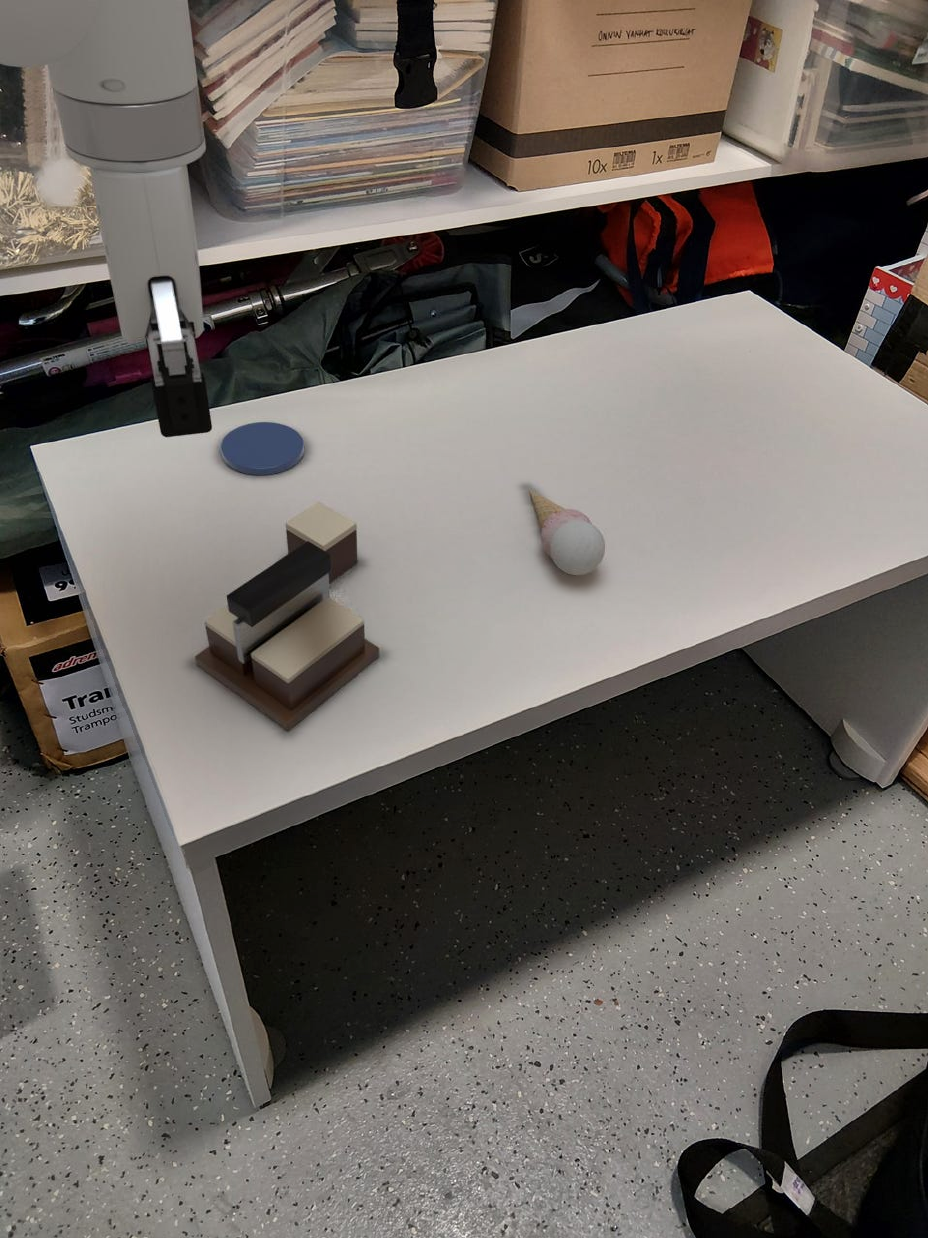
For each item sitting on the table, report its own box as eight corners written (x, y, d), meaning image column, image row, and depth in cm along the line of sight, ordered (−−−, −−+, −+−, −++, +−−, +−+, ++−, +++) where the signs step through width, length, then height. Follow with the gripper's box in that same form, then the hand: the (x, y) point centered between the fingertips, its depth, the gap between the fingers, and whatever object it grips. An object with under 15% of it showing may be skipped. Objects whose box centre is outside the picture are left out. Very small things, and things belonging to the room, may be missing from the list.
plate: (261, 485, 89) (260, 478, 88) (204, 452, 92) (203, 445, 91) (320, 450, 93) (320, 443, 93) (264, 419, 97) (264, 412, 96)
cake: (288, 731, 68) (283, 691, 65) (196, 664, 72) (187, 623, 69) (379, 656, 74) (379, 615, 71) (290, 598, 78) (286, 557, 75)
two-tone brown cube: (325, 586, 79) (323, 545, 76) (288, 563, 81) (285, 522, 78) (357, 563, 82) (356, 523, 79) (321, 541, 84) (318, 501, 80)
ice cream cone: (497, 502, 91) (552, 576, 79) (519, 459, 89) (578, 528, 77) (537, 517, 93) (596, 591, 81) (560, 475, 91) (624, 544, 79)
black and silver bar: (252, 670, 68) (244, 615, 64) (229, 654, 69) (220, 599, 65) (338, 605, 73) (336, 551, 69) (316, 591, 74) (312, 536, 70)
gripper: (58, 75, 56) (114, 336, 68) (63, 183, 45) (130, 474, 57) (186, 72, 58) (219, 327, 70) (222, 175, 47) (254, 458, 59)
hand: (179, 392), depth 64 cm, fingers open, 9 cm apart
